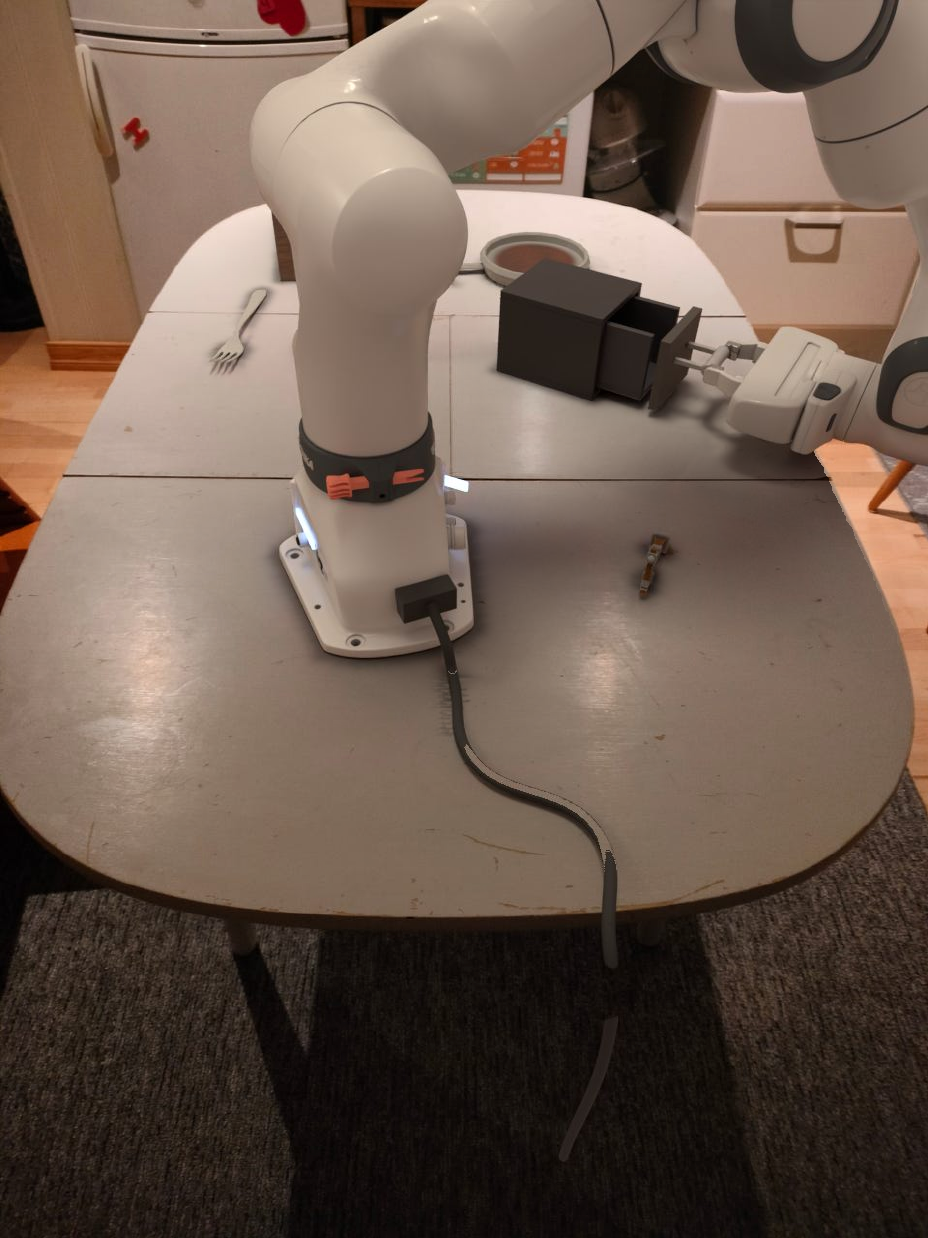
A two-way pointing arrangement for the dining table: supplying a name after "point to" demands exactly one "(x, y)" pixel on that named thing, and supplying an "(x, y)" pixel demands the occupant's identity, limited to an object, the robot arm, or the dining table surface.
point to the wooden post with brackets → (653, 558)
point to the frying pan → (526, 254)
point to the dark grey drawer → (651, 350)
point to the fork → (234, 343)
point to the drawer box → (558, 324)
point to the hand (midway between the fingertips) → (715, 359)
